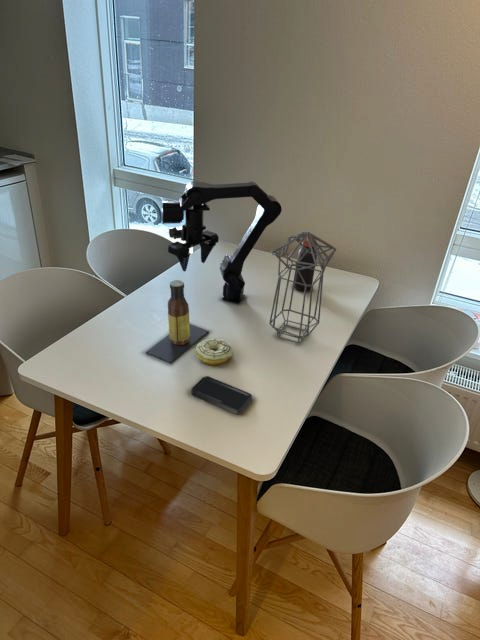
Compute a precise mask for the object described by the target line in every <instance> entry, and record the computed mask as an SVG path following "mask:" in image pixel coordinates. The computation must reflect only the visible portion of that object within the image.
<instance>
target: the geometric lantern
mask: <svg viewBox="0 0 480 640" xmlns="http://www.w3.org/2000/svg"><path fill="white" fill-rule="evenodd" d="M306 238H308V242H306ZM315 239H316V240H317V241H315ZM311 241H312V244H313V246H314V249H315V251H316V254H315V253H314V252H313V249H312V244H311ZM294 242H297V245H296V246H295V247H294V249H292V251H291V253H290V254H288V249H289V246H290V245H292V244H293V243H294ZM302 242H303V244H302ZM318 242H319V243H318ZM305 243H306V244H309V245H310V246H309V249H307V248H306V247H305V246H304V244H305ZM320 243H321V244H320ZM322 244H323V245H322ZM299 246H300V249H301V250H300V249H299V250H300V253H299V256H298V255H297V260H294V259H292V257H293V255H294V253H295V252H296V251H297V249H298V248H299ZM303 248H304V249H305V250H306V252H305V253H304V255H303V256H302V257H301V258H300V256H301V253H302V250H303ZM323 248H324V249H323ZM325 248H326V249H325ZM310 249H311V252H310V251H309V250H310ZM331 250H332V251H331ZM281 251H282V254H281ZM329 251H331V253H330V254H329V255H328V254H327V253H326V252H329ZM307 252H308V253H310V254H312V256H313V259H314V263H315V264H311V263H305V262H300V261H301V259H302V258H303V257H304V256H305V255H306V254H307ZM336 252H337V248H336V247H335V246H334V245H331V244H330V243H328V242H327V241H325V240H323V239H322V238H320V237H318V236H316V235H315V234H313V233H311V232H310V231H308V232H307V231H302V232H299V233H295V234H292V235H290V236H288V237H287V241H286V243H284V244H282V245H280V246H278V247H277V248H275V249H273V250H272V251H270V253H271V255H272V256H275V257H276V258H277V259H278V271H277V276H278V277H277V282H276V287H275V288H276V289H275V292H274V298H273V302H272V307H271V313H270V317H269V321H268V325H269V326H270V327H271V328H272V329H273V330H275V331H276V332H277V333H276V335H275V336H276V337H277V338H279V339H282V340H286V341H288V342H292V343H296V344H301V343H303V341H304V339H306V337H309V336H310V334H312V333H313V331H314V329H316V328H317V326H318V325H319V324H320V320H321V307H322V296H323V285H324V284H323V283H324V273H325V270H326V268H327V266H328V264H329V262H330V261H331V259H332V258H333V256H334V255H335V253H336ZM322 254H323V255H324V257H326V258H323V256H322ZM314 255H315V256H317V258H316V259H315V256H314ZM283 258H284V259H286V262H285V261H284V260H283ZM317 260H318V263H319V264H318V263H317ZM289 262H291V263H289ZM325 262H326V263H325ZM281 263H282V264H283V265H284V266H285V267H284V268H283V269H282V270H281ZM294 263H295V264H294ZM298 263H299V264H305V265H311V266H307V267H305V266H301V265H298ZM297 266H300V267H303V268H298V269H297ZM311 267H315V269H312V268H311ZM316 267H320V269H316ZM307 268H308V269H311V270H314V272H318V274H317V275H316V277H315V279H314V280H313V283H312V285H306V283H305V281H304V279H303V277H302V275H301V273H300V271H299V270H302V269H307ZM292 270H293V271H294V276H293V280H292V279H291V273H292ZM284 271H285V272H284ZM297 271H298V273H299V275H300V277H301V279H302V281H303V283H304V284H301V283H298V282H295V279H296V273H297ZM283 272H284V273H283ZM282 273H283V274H282ZM287 273H288V275H287V278H285V277H284V276H285V275H286V274H287ZM281 274H282V275H281ZM282 280H284V281H286V285H285V290H284V291H285V292H284V296H283V301H282V306H281V310H280V311H279V312H278V311H277V310H278V304H279V297H280V289H281V283H282ZM317 282H318V287H317V288H318V289H317V293H316V300H315V307H314V313H313V315H311V312H312V301H313V300H312V299H313V292H314V291H313V290H314V289H313V288H314V285H315V284H316V283H317ZM290 283H292V286H291V287H292V288H291V294H290V300H289V306H288V309H287V308H286V309H284V308H285V303H286V299H287V293H288V289H289V284H290ZM295 283H297V284H300V285H304V286H305V290H304V292H303V300H302V309H301V312H300V311H296V310H293V309H292V303H293V296H294V291H295V288H294V285H295ZM307 286H308V287H311V290H310V291H309V292H310V294H309V305H308V314H306V313H304V312H305V306H306V305H305V304H306V296H307V292H306V288H307ZM317 310H318V314H317ZM277 312H278V313H277ZM284 312H287V315H286V318H285V314H284ZM290 312H292V313H294V314H297V315H301V316H300V322H296V321H292V320H289V316H290ZM280 315H282V317H283V321H282V323H281V325H280V326H279V328H278V327H276V326H275V325H276V319H277V318H278V317H279V316H280ZM304 317H307V324H304V323H303V322H304V321H303V320H304ZM316 317H317V318H316ZM314 320H315V323H313V324H311V323H312V321H314ZM288 323H293V324H296V325H299V327H296V326H292V325H289V324H288ZM310 324H311V325H310ZM303 326H304V329H303ZM285 327H289V328H292V329H296V330H298V335H297V334H295V333H292V332H290V331H287V330H284V328H285ZM311 327H312V328H311ZM310 328H311V329H310ZM302 331H303V333H302ZM281 335H285V336H288V337H291V338H295V339H297V341H296V340H292V339H290V338H286V337H282V336H281Z"/></svg>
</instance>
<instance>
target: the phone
mask: <svg viewBox="0 0 480 640" xmlns="http://www.w3.org/2000/svg"><path fill="white" fill-rule="evenodd" d="M190 393H191V395H192V396H193V397H196V398H198V399H201V400H202V401H204V402H207V403H210V404H212V405H214V406H216V407H218V408H221V409H223V410H225V411H228V412H230V413H232V414H234V415H240V414H242V413H243V412H244V410H245V409H246V408H247V406H248V405H249V404H250V403H251V401H253V395H252V393H250V392H248V391H245V390H242V389H240V388H238V387H235V386H233V385H230V384H228V383H226V382H223V381H221V380H218V379H216V378H213V377H211V376H209V375H205V376H203V377H202V378H201V379H200V380H199V381H198V382H196V383H195V384H194V385H193V386H192V387H191V390H190Z"/></svg>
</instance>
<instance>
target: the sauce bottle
mask: <svg viewBox="0 0 480 640" xmlns="http://www.w3.org/2000/svg"><path fill="white" fill-rule="evenodd" d="M184 289H185V283H184V281H183V280H179V279H174V280H172V281H170V282H169V290H170V298H169V299H168V301H167V320H168V335H169V337H170V341H171V342H172V344H175V345H184V344H187V343H188V342H189V340H190V324H191V323H190V307H189V303H188V301H187V300H186V299H187V298H185V290H184Z"/></svg>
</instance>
